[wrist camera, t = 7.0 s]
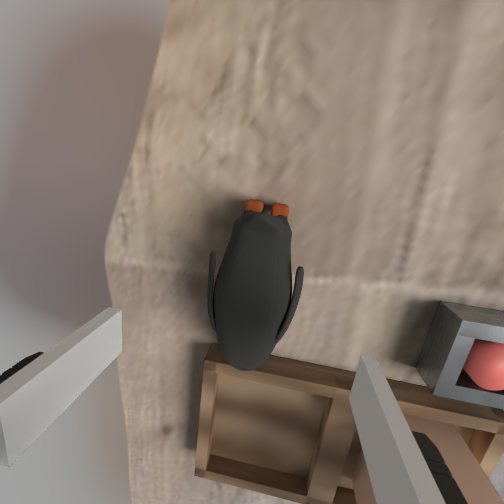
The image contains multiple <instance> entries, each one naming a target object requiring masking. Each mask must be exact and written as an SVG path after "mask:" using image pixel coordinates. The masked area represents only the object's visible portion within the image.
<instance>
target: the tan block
mask: <svg viewBox="0 0 504 504" xmlns="http://www.w3.org/2000/svg"><path fill="white" fill-rule="evenodd" d="M403 415H404V417H405V419H406V421H407V424H408V426H409V428H410V430H411V431H415V432H420V433H424V434H426V435H427V437H428V438H429V439H430V440H431V441H432V442H433V443H434V444H435V445H436V447H437V448H438V450H439V452H440V453H441V455H442V457H443V459H444V461H445V464H446V465H447V466H448V468H449V470H450V472H451V474H452V477H453V478H454V479H455V481H456V483H457V485H458V486H459V488H460V490H461V492H462V494H463V496H464V497H465V499H466V501H467V503H468V504H504V502H503V500H502V499H501V497H500V495H499V494H498V492H497V491H496V489H495V488H494V486H493V485H492V483H491V481H490V480H489V478H488V477H487V475H486V474H485V472H484V470H483V469H482V467H481V466H480V464H479V463H478V461H477V460H476V458H475V456H474V455H473V453H472V452H471V450H470V449H469V447H468V445H467V444H466V442H465V441H464V439H463V438H462V436H461V435H460V433H459V431H458V430H457V428H456V427H455V425H454V424H450V423H445V422H441V421H436V420H431V419H427V418H422V417H417V416H413V415H408V414H404V413H403ZM352 482H353V488H354V493H355V498H356V503H357V504H377V503H376V499H375V495H374V491H373V488H372V484H371V480H370V476H369V472H368V469H367V465H366V461H365V457H364V454H363V450H361V453H360V456H359V459H358V462H357V465H356V468H355V471H354V474H353V477H352Z"/></svg>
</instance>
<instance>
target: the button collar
mask: <svg viewBox="0 0 504 504" xmlns="http://www.w3.org/2000/svg"><path fill="white" fill-rule="evenodd" d="M475 339H481V340H486V341H492V342H497V343H503V344H504V312H503V311H497V310H491V309H485V308H480V307H474V306H468V305H462V304H456V303H450V302H444V301H440V303H439V306H438V309H437V312H436V314H435V317H434V320H433V323H432V325H431V328H430V331H429V333H428V336H427V339H426V342H425V344H424V347H423V350H422V352H421V355H420V358H419V361H418V363H417V366H416V369H417V371H418V372H419V374H420V376H421V377H422V379H423V380H424V382H425V383H426V385H427V387H428V388H429V390H430V391H431V393H432V395H436V396H441V397H446V398H451V399H455V400H460V401H465V402H470V403H475V404H480V405H484V406H489V407H494V408H499V409H504V390H496V391H495V390H487V389H484V388H482V387H480V386H478V385H477V384H476V383H475V382H474V381H473V380H472V379H471V377H470V376H469V375H468V374H467V373H466V372H465V371H464V369H463V366H464V363H465V361H466V359H467V356H468V354H469V352H470V349H471V347H472V345H473V342H474V340H475Z"/></svg>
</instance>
